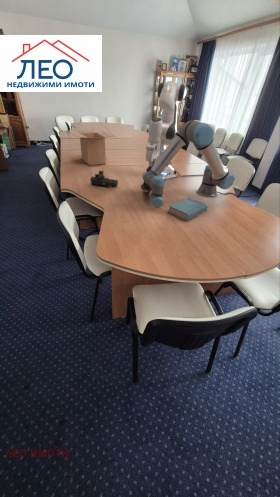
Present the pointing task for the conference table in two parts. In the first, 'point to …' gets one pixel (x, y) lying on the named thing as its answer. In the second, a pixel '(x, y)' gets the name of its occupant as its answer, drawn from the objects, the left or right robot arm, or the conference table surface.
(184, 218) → the book
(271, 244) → the conference table surface
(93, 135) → the box
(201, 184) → the right robot arm
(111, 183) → the laser sight
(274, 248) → the conference table surface
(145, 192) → the bottle
